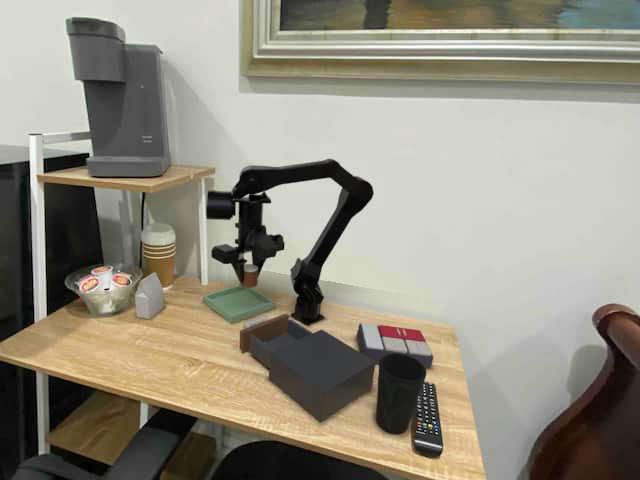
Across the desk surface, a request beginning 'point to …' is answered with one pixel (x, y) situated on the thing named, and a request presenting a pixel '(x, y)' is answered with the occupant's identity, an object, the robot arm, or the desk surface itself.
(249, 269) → the pod
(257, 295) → the tray
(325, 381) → the dark grey box
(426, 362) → the red and grey box
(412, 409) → the cup
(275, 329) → the drawer
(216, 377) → the desk surface
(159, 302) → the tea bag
